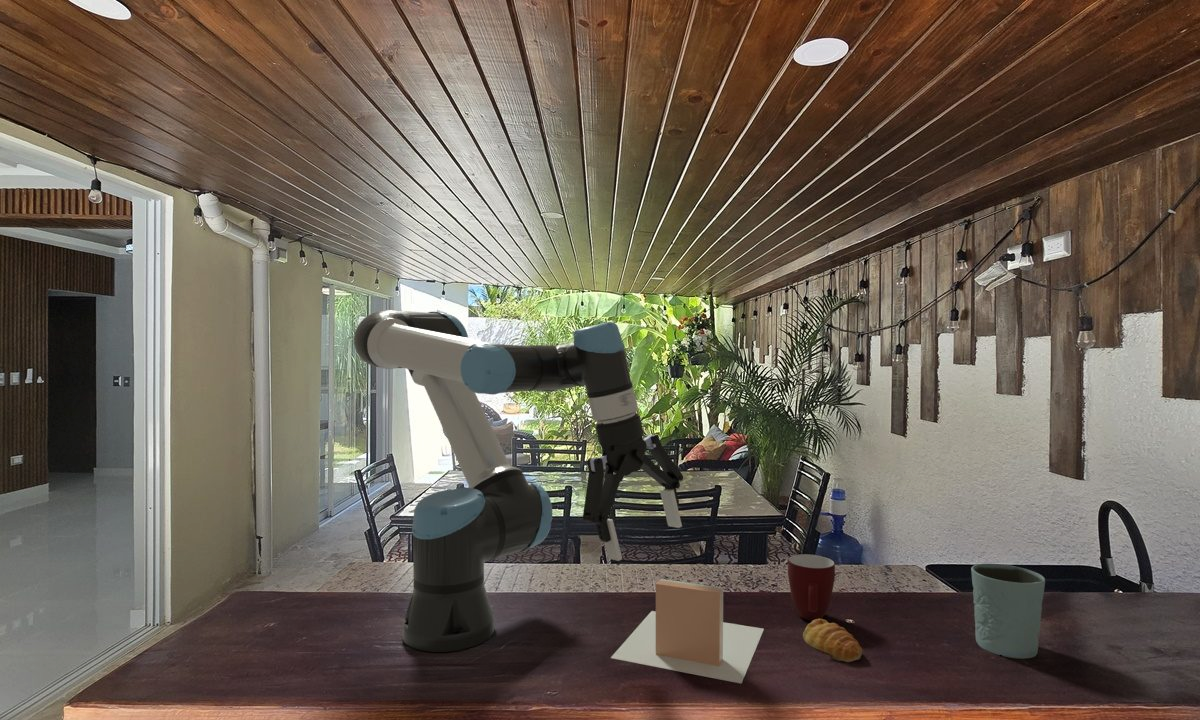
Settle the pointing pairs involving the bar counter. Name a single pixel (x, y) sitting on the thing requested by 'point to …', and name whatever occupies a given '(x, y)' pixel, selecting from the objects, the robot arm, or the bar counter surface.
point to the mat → (732, 668)
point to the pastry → (832, 640)
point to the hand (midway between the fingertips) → (646, 542)
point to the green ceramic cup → (1007, 609)
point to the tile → (689, 621)
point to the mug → (811, 584)
